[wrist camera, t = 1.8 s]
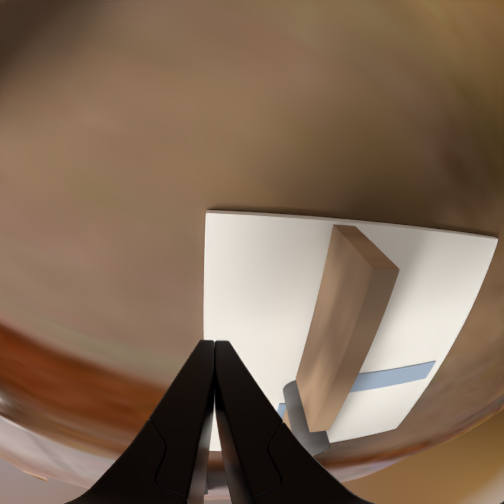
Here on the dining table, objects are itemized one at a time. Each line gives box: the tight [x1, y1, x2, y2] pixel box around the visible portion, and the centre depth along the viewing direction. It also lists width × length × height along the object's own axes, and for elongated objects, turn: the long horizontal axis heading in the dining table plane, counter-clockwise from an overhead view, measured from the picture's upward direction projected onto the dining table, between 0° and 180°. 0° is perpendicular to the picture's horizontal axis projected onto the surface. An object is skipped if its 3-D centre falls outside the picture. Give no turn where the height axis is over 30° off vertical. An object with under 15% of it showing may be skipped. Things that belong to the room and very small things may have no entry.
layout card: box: [204, 210, 498, 451], centre depth 17 cm, size 19×17×1 cm
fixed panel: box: [282, 380, 330, 456], centre depth 16 cm, size 9×2×5 cm, turn 175°
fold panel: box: [295, 224, 400, 432], centre depth 12 cm, size 9×1×4 cm, turn 175°
